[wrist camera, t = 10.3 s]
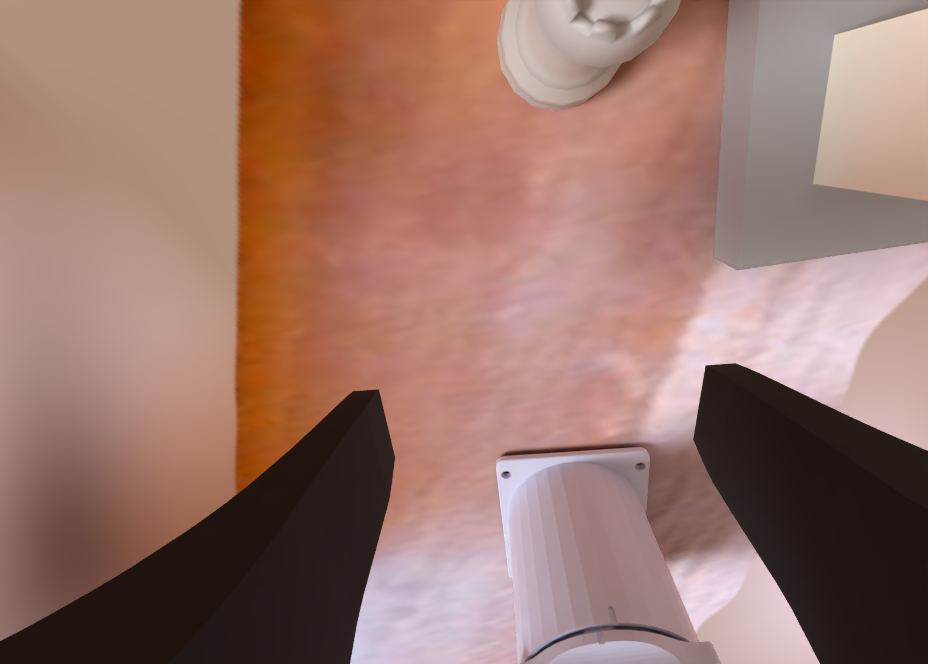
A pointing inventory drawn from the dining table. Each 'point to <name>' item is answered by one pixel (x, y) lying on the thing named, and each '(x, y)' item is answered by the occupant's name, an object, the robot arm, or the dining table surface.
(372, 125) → the dining table surface
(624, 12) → the rook chess piece
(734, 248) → the slate block
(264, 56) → the dining table surface
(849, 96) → the cream cube
